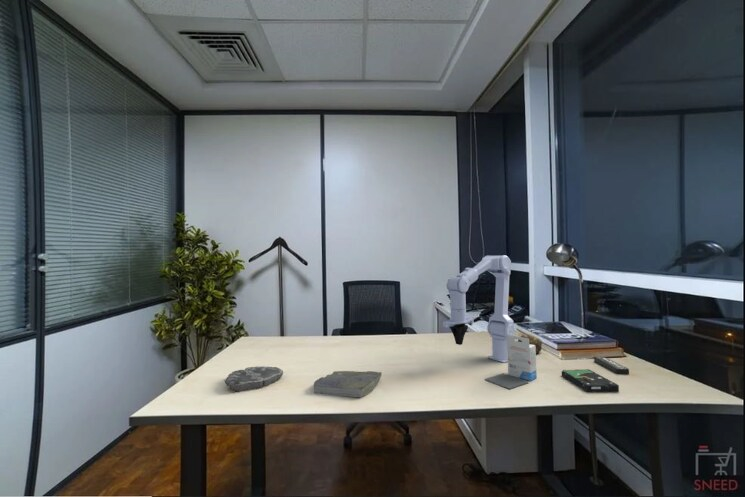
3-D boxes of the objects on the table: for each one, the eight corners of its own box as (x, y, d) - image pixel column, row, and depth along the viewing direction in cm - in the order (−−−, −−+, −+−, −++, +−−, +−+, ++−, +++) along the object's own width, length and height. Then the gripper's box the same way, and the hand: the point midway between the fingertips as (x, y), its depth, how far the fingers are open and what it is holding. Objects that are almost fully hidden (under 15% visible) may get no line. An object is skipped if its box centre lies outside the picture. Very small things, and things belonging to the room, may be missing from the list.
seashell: (546, 355, 142) (545, 336, 143) (524, 355, 143) (524, 337, 143) (534, 348, 154) (533, 331, 154) (514, 348, 154) (513, 331, 154)
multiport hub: (616, 375, 119) (616, 368, 119) (593, 362, 133) (593, 356, 133) (629, 375, 118) (629, 369, 118) (605, 362, 133) (604, 356, 133)
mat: (503, 374, 120) (503, 373, 120) (528, 383, 111) (528, 381, 111) (484, 380, 115) (484, 378, 115) (509, 389, 106) (509, 388, 106)
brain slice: (267, 370, 129) (267, 362, 129) (289, 381, 117) (289, 373, 117) (214, 384, 115) (214, 375, 115) (233, 398, 103) (233, 389, 103)
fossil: (330, 378, 122) (309, 394, 105) (331, 365, 122) (309, 379, 106) (382, 385, 116) (367, 402, 100) (382, 371, 117) (368, 387, 100)
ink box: (537, 378, 116) (536, 336, 116) (530, 381, 113) (529, 338, 113) (514, 371, 122) (513, 332, 123) (507, 374, 119) (506, 334, 120)
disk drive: (620, 394, 103) (589, 376, 118) (619, 385, 103) (589, 368, 118) (587, 394, 103) (560, 376, 118) (587, 385, 103) (560, 368, 118)
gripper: (463, 305, 132) (464, 339, 131) (436, 308, 124) (437, 344, 124) (477, 307, 126) (478, 342, 125) (450, 311, 118) (450, 349, 118)
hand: (459, 344), depth 124 cm, fingers closed
